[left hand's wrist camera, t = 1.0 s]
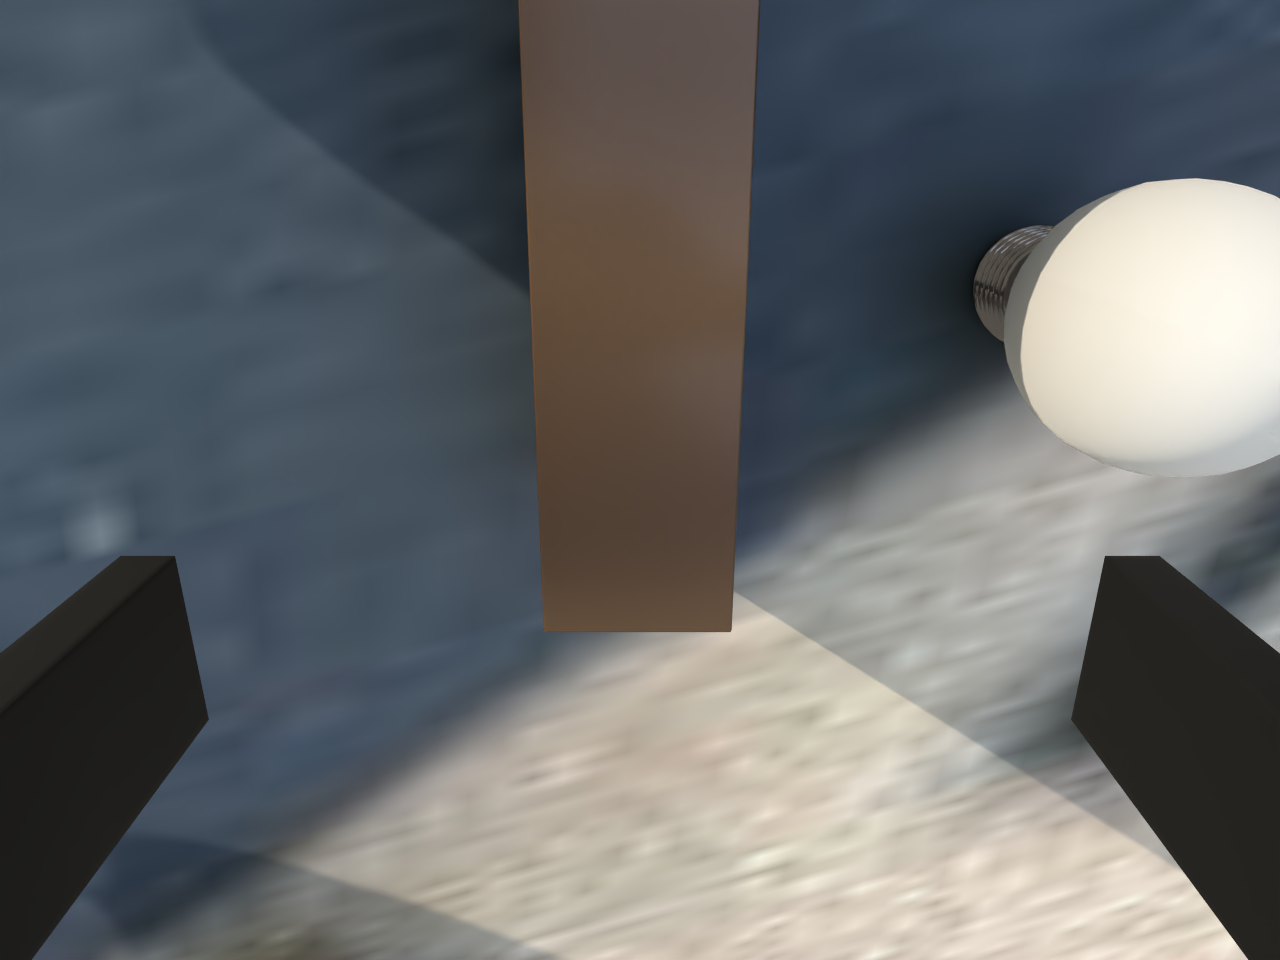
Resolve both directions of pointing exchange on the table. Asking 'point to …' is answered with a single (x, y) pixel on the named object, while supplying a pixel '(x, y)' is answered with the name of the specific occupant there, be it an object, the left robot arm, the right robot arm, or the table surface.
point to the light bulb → (1148, 325)
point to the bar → (638, 302)
